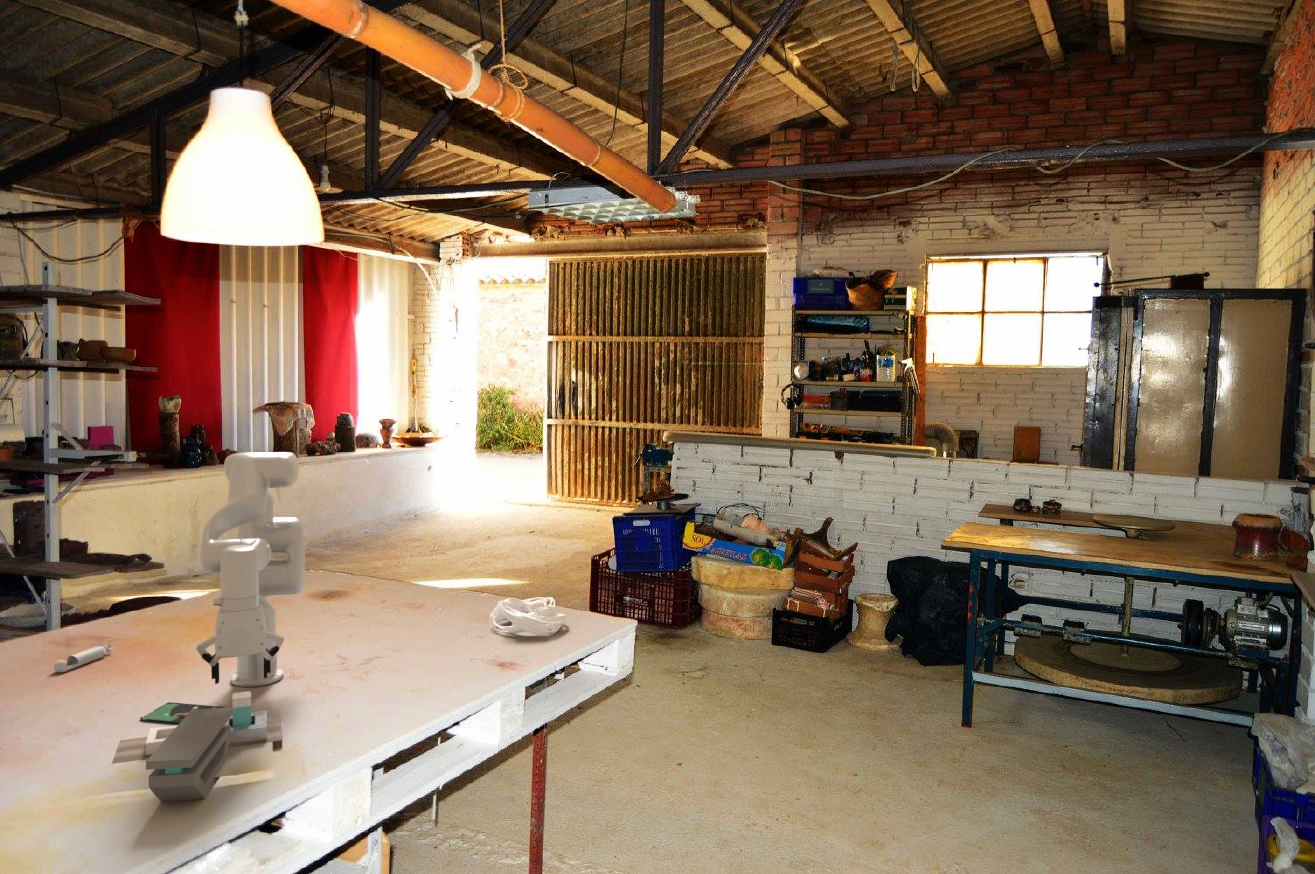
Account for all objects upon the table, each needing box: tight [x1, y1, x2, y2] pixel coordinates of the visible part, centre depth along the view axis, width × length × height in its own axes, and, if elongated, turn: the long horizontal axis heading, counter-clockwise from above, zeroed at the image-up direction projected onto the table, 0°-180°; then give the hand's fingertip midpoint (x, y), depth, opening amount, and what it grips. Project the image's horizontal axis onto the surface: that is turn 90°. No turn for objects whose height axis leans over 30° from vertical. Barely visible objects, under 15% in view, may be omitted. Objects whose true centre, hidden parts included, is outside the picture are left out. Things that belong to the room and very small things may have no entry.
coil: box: [488, 596, 567, 637], centre depth 289 cm, size 25×24×9 cm
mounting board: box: [111, 719, 283, 764], centre depth 195 cm, size 12×32×2 cm, turn 114°
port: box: [225, 710, 268, 745], centre depth 198 cm, size 10×10×3 cm
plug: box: [231, 690, 252, 727], centre depth 198 cm, size 4×4×9 cm
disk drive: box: [138, 702, 226, 726], centre depth 209 cm, size 10×3×15 cm
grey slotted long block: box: [145, 707, 233, 802], centre depth 177 cm, size 25×8×11 cm, turn 10°
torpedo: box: [53, 634, 114, 674], centre depth 246 cm, size 18×5×7 cm, turn 169°
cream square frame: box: [146, 724, 178, 755], centre depth 193 cm, size 8×8×2 cm
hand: (241, 678), depth 198 cm, fingers open, 9 cm apart
